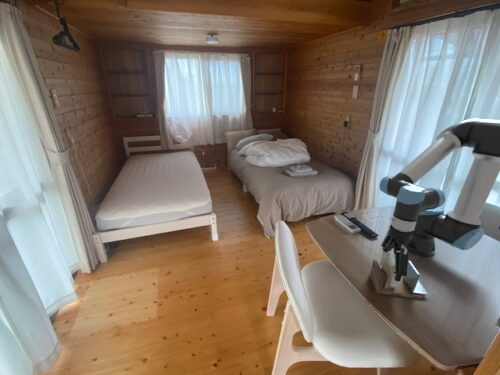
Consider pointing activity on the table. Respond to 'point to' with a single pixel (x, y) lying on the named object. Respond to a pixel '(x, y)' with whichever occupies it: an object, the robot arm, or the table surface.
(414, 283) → the bookend
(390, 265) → the box
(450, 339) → the table surface
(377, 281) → the rack
